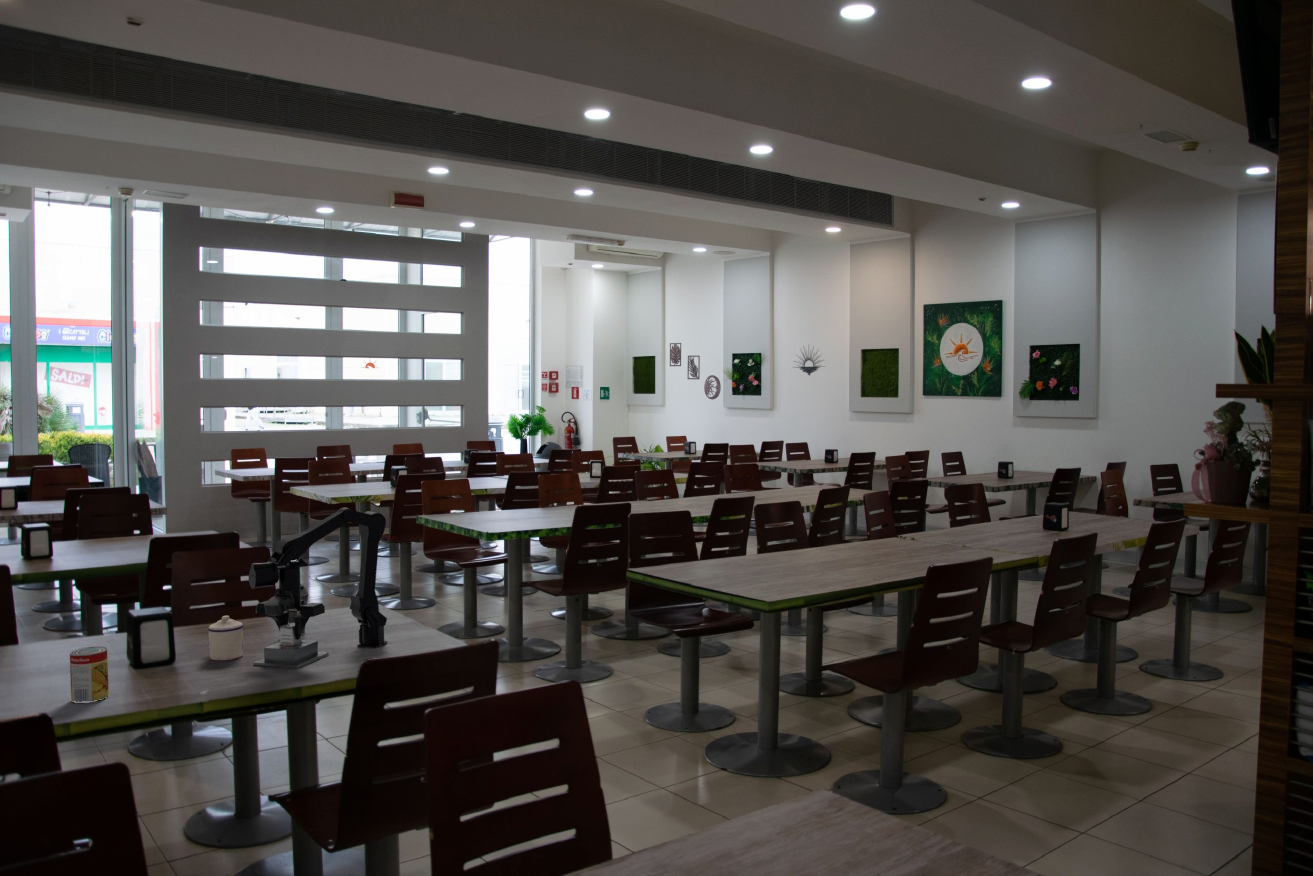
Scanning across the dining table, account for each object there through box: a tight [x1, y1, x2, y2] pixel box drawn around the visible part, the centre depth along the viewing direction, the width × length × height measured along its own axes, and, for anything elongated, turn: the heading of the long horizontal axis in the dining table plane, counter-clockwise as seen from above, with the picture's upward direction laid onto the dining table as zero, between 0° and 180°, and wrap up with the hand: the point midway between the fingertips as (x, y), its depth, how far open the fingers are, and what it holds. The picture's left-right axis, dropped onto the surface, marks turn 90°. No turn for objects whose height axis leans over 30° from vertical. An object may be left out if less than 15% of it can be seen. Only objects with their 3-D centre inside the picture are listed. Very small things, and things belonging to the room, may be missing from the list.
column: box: [279, 623, 303, 647], centre depth 263 cm, size 4×4×9 cm
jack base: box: [252, 639, 329, 670], centre depth 263 cm, size 14×14×5 cm
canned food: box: [69, 645, 110, 702], centre depth 230 cm, size 8×8×12 cm
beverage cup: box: [288, 583, 310, 634], centre depth 295 cm, size 7×7×20 cm
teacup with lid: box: [207, 615, 244, 662], centre depth 268 cm, size 12×9×12 cm
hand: (291, 639), depth 263 cm, fingers closed on column, 4 cm apart
